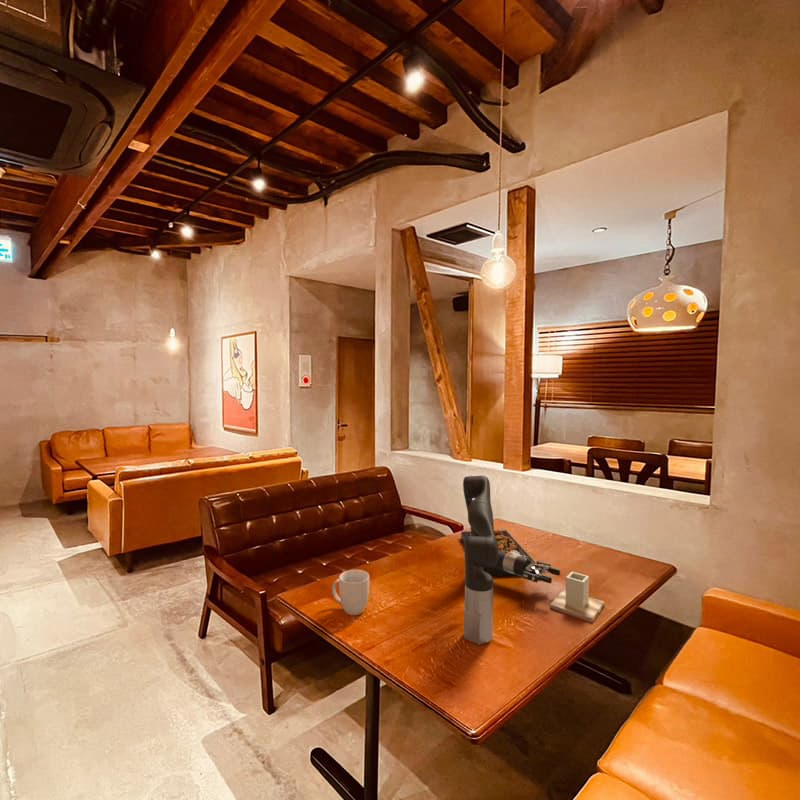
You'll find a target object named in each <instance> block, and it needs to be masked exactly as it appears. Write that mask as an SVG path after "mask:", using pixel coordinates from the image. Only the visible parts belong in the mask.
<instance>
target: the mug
mask: <svg viewBox="0 0 800 800" xmlns="http://www.w3.org/2000/svg"><path fill="white" fill-rule="evenodd" d="M338 577H339V578H337V579H336V580H335V581H334V582H333V584H332V588H331V589H332V590H331V591H332V596H333V598H334V599H335V600H336V601H337V602H338V603H341V607H342V608H343V609H342V610H344V612H345V613H346V614H347V615H349V616H358V615H360V614H361V615H362V613H363V612H364V611H365V609H366V608H367V604H368V603H369V602H368V601H369V597H370V575H369V573H368V572H367V571H365V570H363V569H349V570H346V571H343V572H342V573H340V575H339V576H338ZM337 584H338V585H339V589H338V591H339V595H338V594H337V591H336V590H337V588H336V587H337Z"/></svg>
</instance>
